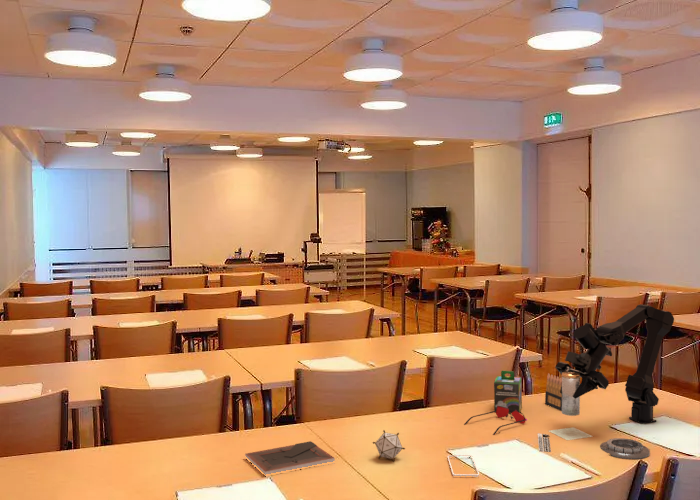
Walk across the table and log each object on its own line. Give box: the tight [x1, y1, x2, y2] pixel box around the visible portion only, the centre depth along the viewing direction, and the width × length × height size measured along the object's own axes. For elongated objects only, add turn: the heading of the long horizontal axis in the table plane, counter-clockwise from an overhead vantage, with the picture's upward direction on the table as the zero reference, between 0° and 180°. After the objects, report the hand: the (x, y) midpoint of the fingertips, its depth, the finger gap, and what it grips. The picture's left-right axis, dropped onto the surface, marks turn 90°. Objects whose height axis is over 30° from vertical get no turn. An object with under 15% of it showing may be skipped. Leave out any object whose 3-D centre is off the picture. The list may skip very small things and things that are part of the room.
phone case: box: [447, 454, 480, 477], centre depth 198 cm, size 7×1×15 cm
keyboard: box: [537, 433, 552, 453], centre depth 216 cm, size 17×6×2 cm, turn 166°
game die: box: [371, 429, 406, 462], centre depth 205 cm, size 9×8×10 cm
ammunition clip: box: [544, 372, 562, 412], centre depth 256 cm, size 11×2×12 cm, turn 21°
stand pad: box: [548, 427, 594, 441], centre depth 225 cm, size 10×10×1 cm
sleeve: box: [561, 372, 581, 417], centre depth 224 cm, size 6×6×13 cm
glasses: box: [463, 406, 528, 436], centre depth 236 cm, size 14×16×5 cm
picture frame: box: [244, 440, 336, 475], centre depth 204 cm, size 16×2×22 cm
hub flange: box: [599, 437, 651, 460], centre depth 210 cm, size 14×14×2 cm
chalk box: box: [493, 370, 523, 414], centre depth 253 cm, size 9×9×15 cm
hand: (567, 395), depth 223 cm, fingers closed on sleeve, 5 cm apart
